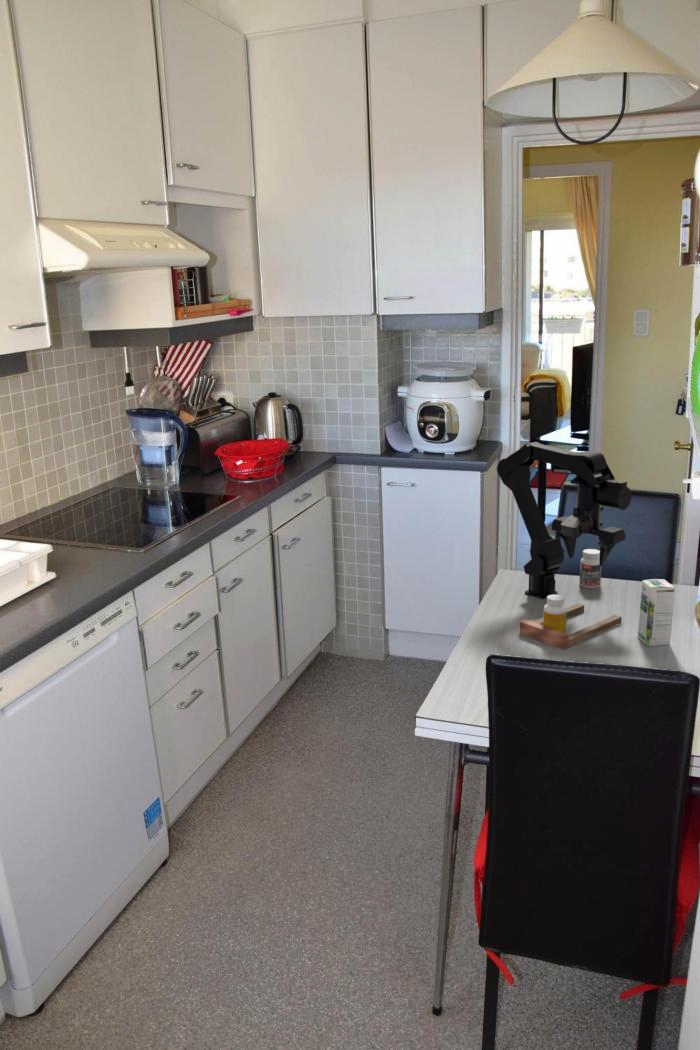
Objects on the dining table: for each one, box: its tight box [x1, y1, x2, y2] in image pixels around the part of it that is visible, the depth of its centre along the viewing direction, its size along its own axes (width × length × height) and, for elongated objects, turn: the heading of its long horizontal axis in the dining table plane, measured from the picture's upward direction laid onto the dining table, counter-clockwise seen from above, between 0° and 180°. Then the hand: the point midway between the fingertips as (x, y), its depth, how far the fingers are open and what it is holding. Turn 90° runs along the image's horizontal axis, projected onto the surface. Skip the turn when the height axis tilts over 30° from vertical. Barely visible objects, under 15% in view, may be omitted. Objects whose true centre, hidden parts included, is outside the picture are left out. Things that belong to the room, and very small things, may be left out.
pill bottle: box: [578, 548, 603, 589], centre depth 234 cm, size 6×6×10 cm
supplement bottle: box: [542, 594, 567, 634], centre depth 202 cm, size 5×5×10 cm
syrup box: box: [637, 578, 676, 647], centre depth 196 cm, size 6×6×14 cm
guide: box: [519, 602, 623, 650], centre depth 207 cm, size 13×23×3 cm, turn 129°
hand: (586, 561), depth 217 cm, fingers open, 9 cm apart
